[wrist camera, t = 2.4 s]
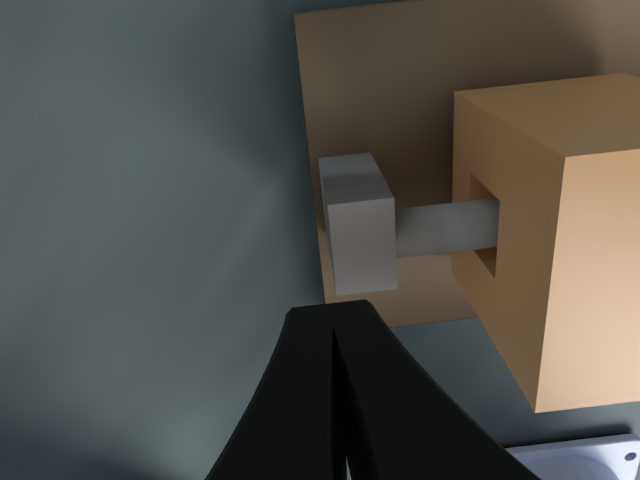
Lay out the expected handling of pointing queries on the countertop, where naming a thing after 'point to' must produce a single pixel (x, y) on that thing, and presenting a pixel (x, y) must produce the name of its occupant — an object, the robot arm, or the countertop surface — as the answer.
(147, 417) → the countertop surface
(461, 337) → the countertop surface
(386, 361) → the robot arm
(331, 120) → the rail stand
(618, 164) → the sleeve
